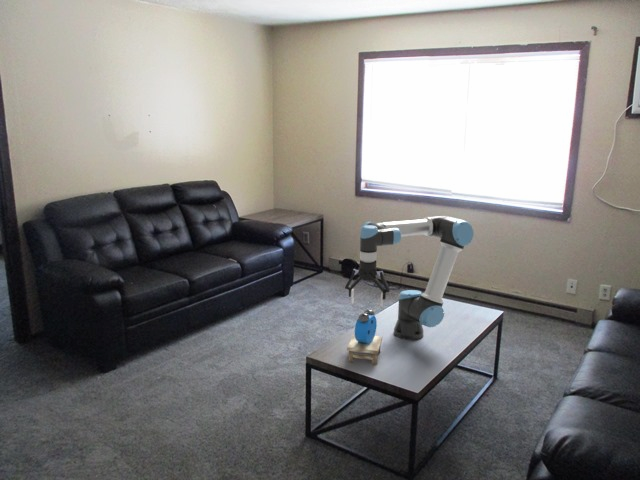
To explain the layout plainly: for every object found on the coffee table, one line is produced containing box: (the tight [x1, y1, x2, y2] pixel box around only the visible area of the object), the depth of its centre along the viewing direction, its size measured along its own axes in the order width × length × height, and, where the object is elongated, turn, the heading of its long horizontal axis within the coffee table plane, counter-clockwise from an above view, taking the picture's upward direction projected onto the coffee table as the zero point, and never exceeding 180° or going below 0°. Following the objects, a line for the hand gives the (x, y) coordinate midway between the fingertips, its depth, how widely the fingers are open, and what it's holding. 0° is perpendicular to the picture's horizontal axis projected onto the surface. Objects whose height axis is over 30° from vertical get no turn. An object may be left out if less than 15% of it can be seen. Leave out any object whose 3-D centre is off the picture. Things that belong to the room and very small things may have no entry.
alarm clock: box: [354, 308, 378, 344], centre depth 248 cm, size 13×6×15 cm, turn 153°
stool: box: [346, 333, 383, 366], centre depth 251 cm, size 14×16×8 cm
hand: (366, 304), depth 246 cm, fingers open, 13 cm apart
